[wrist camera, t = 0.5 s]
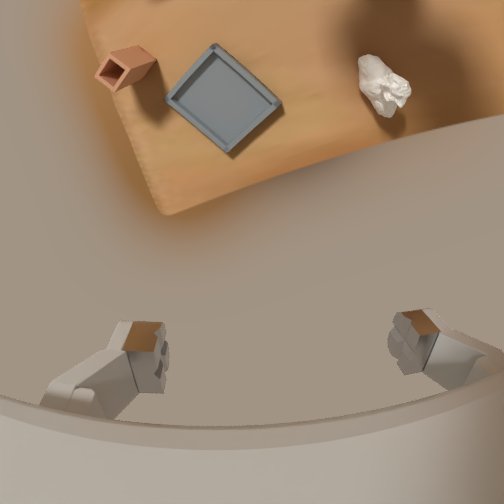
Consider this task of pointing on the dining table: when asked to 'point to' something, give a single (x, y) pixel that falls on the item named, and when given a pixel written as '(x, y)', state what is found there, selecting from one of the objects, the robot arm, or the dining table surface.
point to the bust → (382, 85)
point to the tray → (222, 98)
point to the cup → (124, 67)
